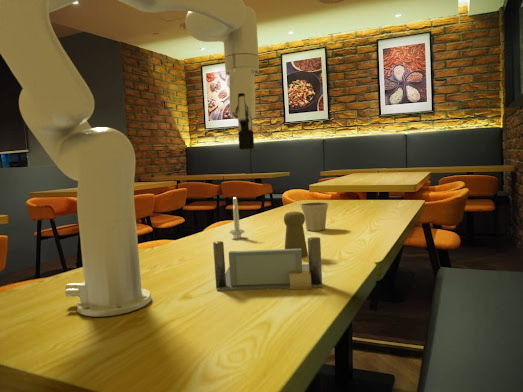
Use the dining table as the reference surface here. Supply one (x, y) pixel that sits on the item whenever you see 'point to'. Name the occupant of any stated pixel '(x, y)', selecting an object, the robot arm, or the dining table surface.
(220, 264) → the hinge post
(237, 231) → the screw
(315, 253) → the stile
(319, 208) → the flower pot
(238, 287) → the mat
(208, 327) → the dining table surface
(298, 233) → the cork
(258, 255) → the gate
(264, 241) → the dining table surface
